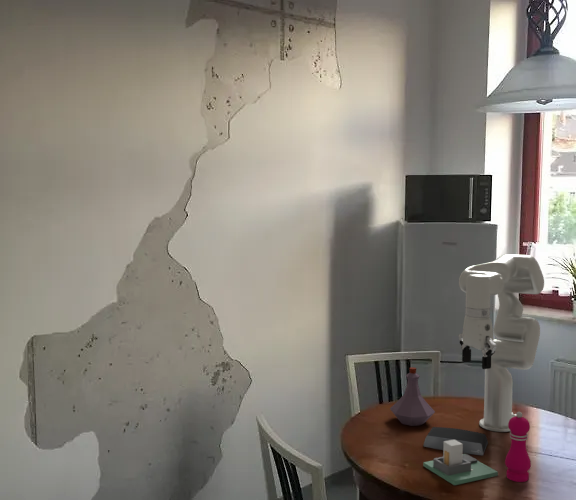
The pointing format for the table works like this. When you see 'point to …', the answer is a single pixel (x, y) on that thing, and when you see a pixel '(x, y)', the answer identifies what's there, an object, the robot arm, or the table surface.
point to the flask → (412, 403)
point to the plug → (452, 452)
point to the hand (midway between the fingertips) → (476, 364)
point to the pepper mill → (518, 449)
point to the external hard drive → (457, 439)
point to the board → (461, 470)
